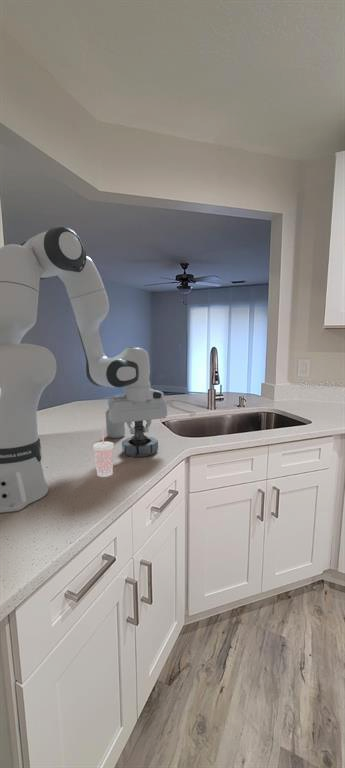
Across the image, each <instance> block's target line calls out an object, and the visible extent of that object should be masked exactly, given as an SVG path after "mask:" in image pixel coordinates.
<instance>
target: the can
mask: <svg viewBox="0 0 345 768" xmlns="http://www.w3.org/2000/svg"><path fill="white" fill-rule="evenodd" d="M106 409H107V410H106V411H105V424H106V425H105V429H106V436H107V437H108V438H109V439H121V438H122V437H124V436H125V435H126V425H125V423H126V422H125V423H115V424H113V423H112V422H111V421H110V420H109V412H110V408H109V407H107V408H106Z"/></svg>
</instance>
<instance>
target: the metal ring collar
mask: <svg viewBox="0 0 345 768" xmlns="http://www.w3.org/2000/svg"><path fill="white" fill-rule="evenodd" d="M131 437H132V436H131ZM131 437H128V438H126V439H124V440H122V441H121V450H122V454H123V455H124V456H126V457H130V458H147V457H150V456H154V455H156V454H157V453H158V450H159V440H158V439H156V438H155V437H152V436H147V437H148V438H147V441H146V443H145V444H142V445H135V444H134V443H133V442H132V439H131Z"/></svg>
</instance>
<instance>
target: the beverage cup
mask: <svg viewBox="0 0 345 768" xmlns="http://www.w3.org/2000/svg"><path fill="white" fill-rule="evenodd" d="M104 434H105V433H104V427H101V436H102V437H101V439H102V441H99V442H96V443H94V444H93V445H92V449H93V451H94V460H95V468H96V475H97V477H100V478H107V477H109V476H112V475H113V474H114V470H113V467H114V460H113V459H114V448H115V446H114V445H115V443H114V442H113V441H105V436H104Z"/></svg>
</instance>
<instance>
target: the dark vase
mask: <svg viewBox="0 0 345 768" xmlns="http://www.w3.org/2000/svg"><path fill="white" fill-rule="evenodd" d="M144 427H145V426H144V420H143V421H134V425H133V428H134V429H135V434H133V435H132V436H131V439H132V442H133V443H134V444H135V445H142V444H145V443H146V441H147V438H148V437H149V436H148V435H145V433H144V432H143V428H144Z"/></svg>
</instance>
